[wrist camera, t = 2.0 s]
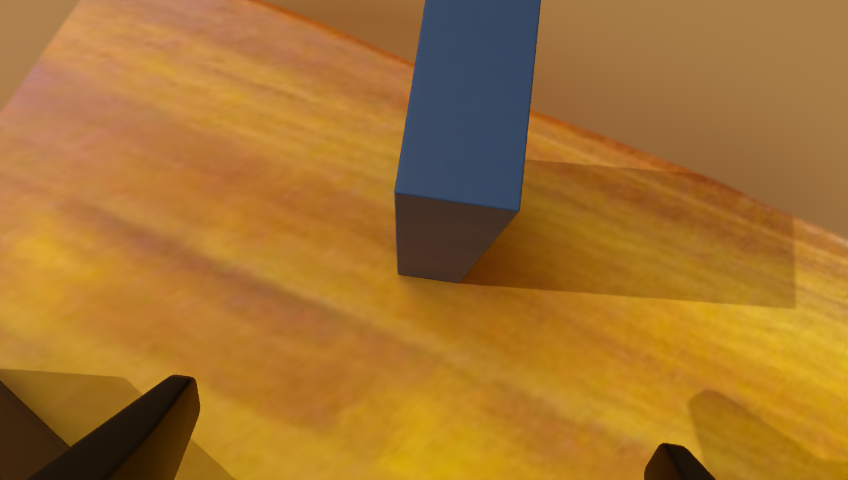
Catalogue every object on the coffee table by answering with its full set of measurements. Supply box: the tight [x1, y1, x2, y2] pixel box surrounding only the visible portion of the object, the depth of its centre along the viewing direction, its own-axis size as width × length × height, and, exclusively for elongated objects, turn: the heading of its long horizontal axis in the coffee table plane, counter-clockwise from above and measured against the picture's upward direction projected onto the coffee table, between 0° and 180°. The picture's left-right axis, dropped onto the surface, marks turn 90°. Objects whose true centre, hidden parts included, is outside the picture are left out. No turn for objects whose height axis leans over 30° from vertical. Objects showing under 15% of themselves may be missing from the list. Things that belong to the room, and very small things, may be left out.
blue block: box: [394, 0, 541, 283], centre depth 18 cm, size 3×6×12 cm, turn 172°
